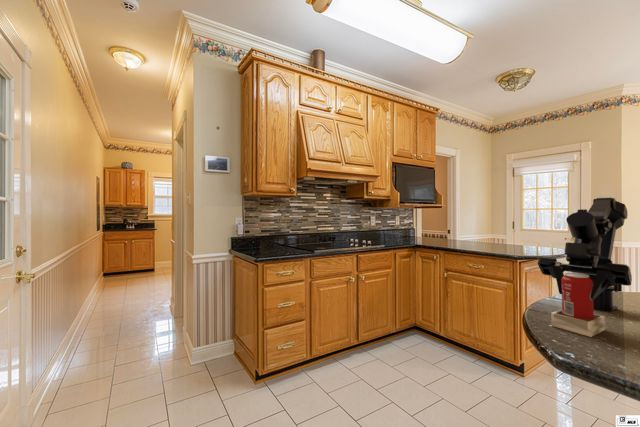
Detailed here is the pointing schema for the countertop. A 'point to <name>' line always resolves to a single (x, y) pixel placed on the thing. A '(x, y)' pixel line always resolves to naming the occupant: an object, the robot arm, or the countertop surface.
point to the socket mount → (578, 324)
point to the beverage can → (577, 296)
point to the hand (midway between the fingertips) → (575, 295)
